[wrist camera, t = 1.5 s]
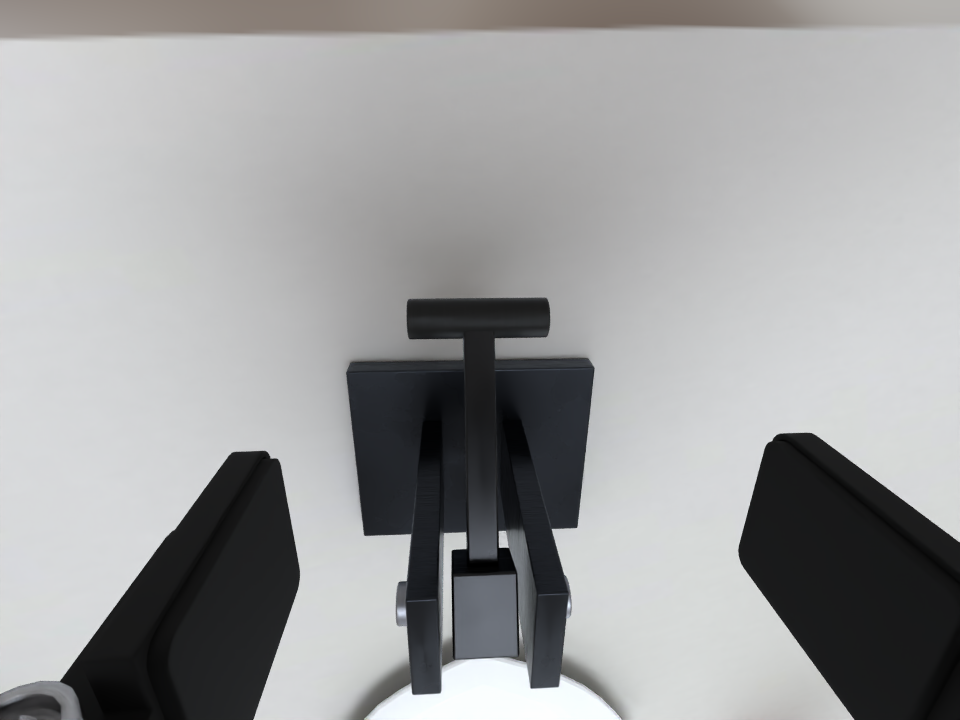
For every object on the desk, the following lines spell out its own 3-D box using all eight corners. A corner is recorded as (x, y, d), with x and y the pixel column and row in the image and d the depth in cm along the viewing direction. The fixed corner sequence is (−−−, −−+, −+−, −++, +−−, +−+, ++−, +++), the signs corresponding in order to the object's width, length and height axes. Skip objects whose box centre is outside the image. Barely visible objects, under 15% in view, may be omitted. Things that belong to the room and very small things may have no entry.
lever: (410, 304, 19) (404, 293, 16) (540, 303, 19) (552, 292, 17) (415, 626, 18) (409, 663, 16) (547, 619, 18) (561, 655, 16)
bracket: (350, 362, 24) (270, 531, 13) (588, 357, 25) (697, 516, 14) (367, 521, 28) (315, 753, 17) (572, 514, 29) (648, 733, 18)
